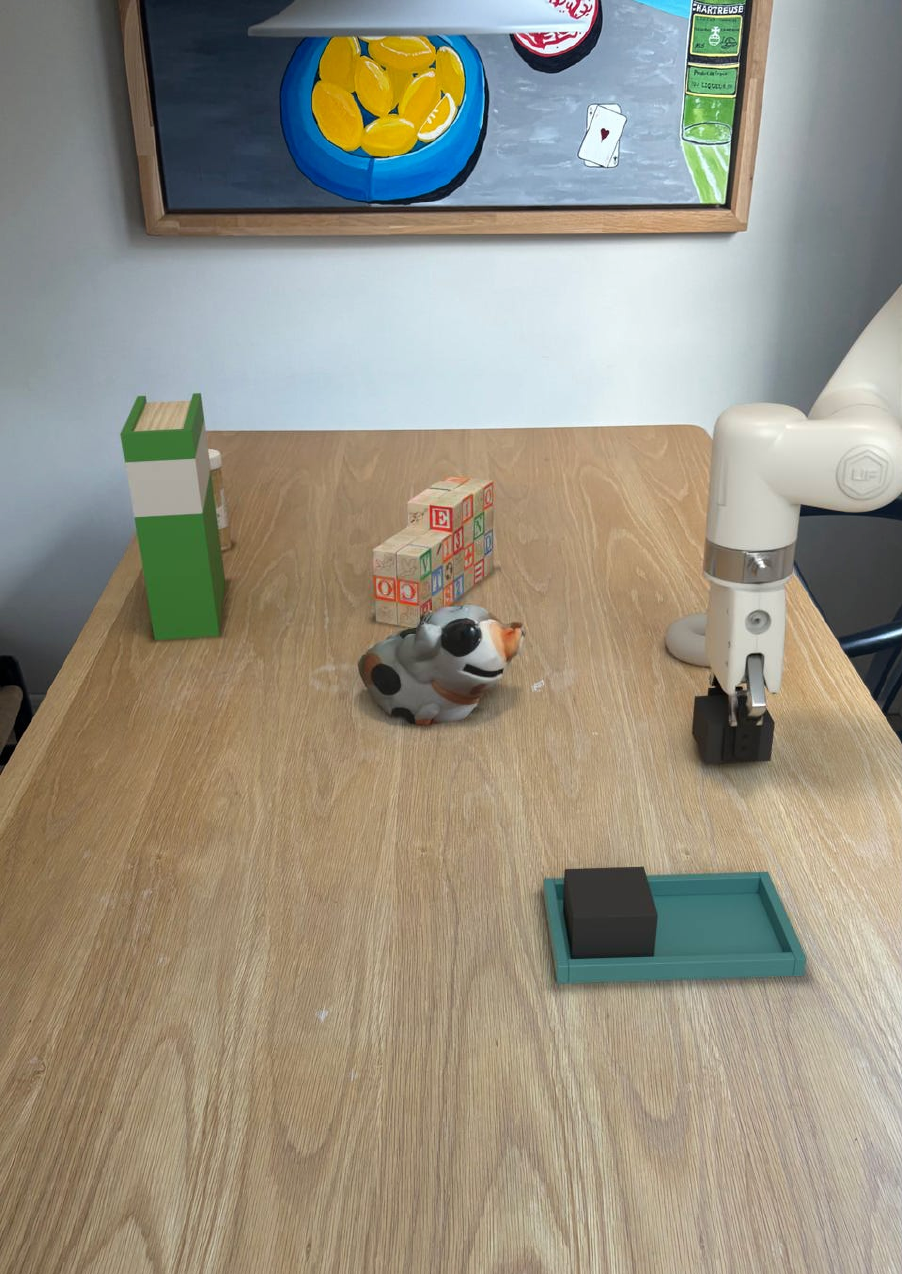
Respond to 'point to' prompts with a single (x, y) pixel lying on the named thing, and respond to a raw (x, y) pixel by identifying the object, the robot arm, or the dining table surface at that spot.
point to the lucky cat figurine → (440, 664)
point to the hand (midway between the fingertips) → (730, 741)
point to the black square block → (711, 727)
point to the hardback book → (175, 516)
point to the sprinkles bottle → (219, 498)
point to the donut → (688, 639)
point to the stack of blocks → (435, 551)
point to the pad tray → (693, 932)
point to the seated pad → (609, 913)
